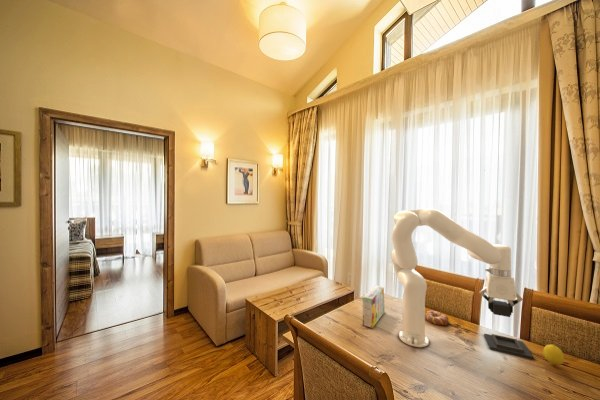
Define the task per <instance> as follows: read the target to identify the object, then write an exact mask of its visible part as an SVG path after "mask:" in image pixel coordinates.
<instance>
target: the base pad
mask: <svg viewBox="0 0 600 400" xmlns="http://www.w3.org/2000/svg"><path fill="white" fill-rule="evenodd" d="M483 336H484V338H485V341H486V342H487V345H488V348H489V349H490V350H492V351H497V352H501V353H505V354H508V355H513V356H517V357H520V358H521V357H522V358H526V359H529V360H534V356H533V354H532V353H531V352H530V350H529V349H528V346H527V345H526V344H525V342H524V341H521V340H518V339H517V338H513V337H508V336H504V335H499V334H494V333H491V334H488V333H484V334H483Z"/></svg>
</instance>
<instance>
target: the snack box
mask: <svg viewBox="0 0 600 400" xmlns="http://www.w3.org/2000/svg"><path fill="white" fill-rule="evenodd" d="M385 313H386V311H385V287H384V286H383V285H382V286H381V285H377V284H376V285H374V286H373V287H372V288H370V290H368V292H366V293H365V294H364V295H363V296H362V326H363V327H367V328H371V329H373V328H374V327H375V326H376V324H377V323H378V321H379V320H380V319H381V317H382V316H383V315H384V314H385Z"/></svg>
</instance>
